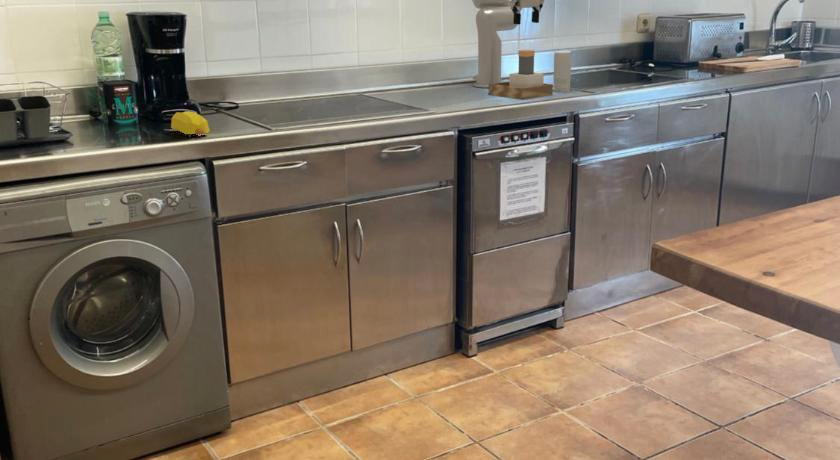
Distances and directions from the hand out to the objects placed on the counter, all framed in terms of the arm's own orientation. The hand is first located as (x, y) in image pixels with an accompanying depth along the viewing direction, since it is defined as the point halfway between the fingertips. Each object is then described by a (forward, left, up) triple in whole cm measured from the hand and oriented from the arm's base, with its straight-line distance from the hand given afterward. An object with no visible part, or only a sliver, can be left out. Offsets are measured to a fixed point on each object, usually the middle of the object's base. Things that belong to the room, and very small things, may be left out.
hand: (526, 23), depth 308 cm
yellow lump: (-16, -130, -27) cm, 133 cm away
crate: (+2, -5, -27) cm, 27 cm away
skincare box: (+5, +15, -27) cm, 31 cm away
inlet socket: (+4, -4, -26) cm, 27 cm away
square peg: (+4, -4, -22) cm, 22 cm away
